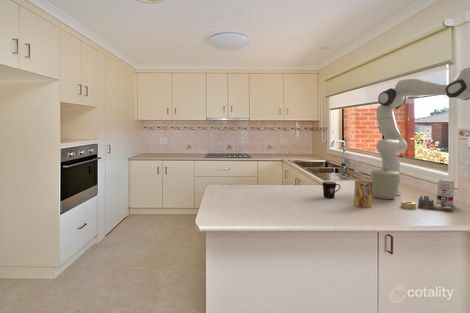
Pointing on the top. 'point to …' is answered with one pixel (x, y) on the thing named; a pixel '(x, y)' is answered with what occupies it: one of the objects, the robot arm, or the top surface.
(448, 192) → the supplement can
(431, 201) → the gear
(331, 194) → the coffee mug
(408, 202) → the brass gear
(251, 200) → the top surface
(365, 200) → the candy box
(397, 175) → the canister
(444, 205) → the gear board
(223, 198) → the top surface
